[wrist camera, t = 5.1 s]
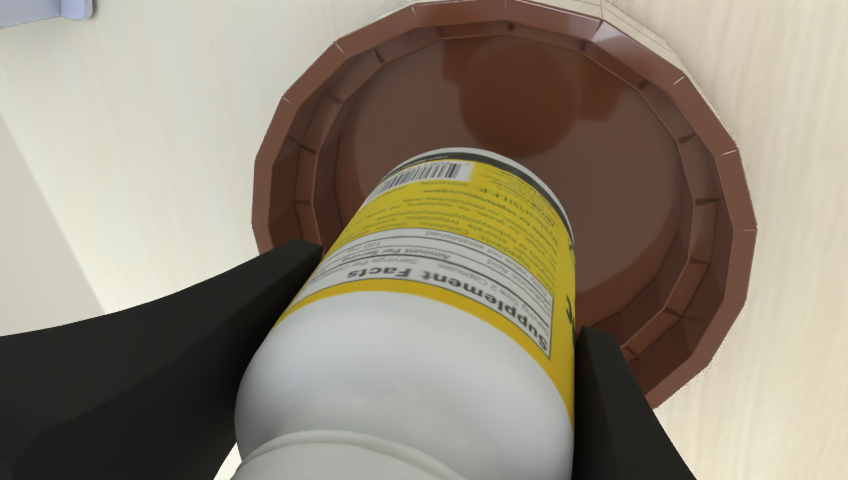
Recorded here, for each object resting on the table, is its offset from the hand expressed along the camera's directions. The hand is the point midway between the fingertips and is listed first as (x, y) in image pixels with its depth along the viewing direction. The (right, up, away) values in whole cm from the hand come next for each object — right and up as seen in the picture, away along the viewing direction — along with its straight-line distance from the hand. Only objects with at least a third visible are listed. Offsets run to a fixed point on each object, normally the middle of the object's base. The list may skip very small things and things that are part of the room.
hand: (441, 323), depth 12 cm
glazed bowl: (+2, +3, +10) cm, 10 cm away
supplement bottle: (+1, +2, +3) cm, 4 cm away
